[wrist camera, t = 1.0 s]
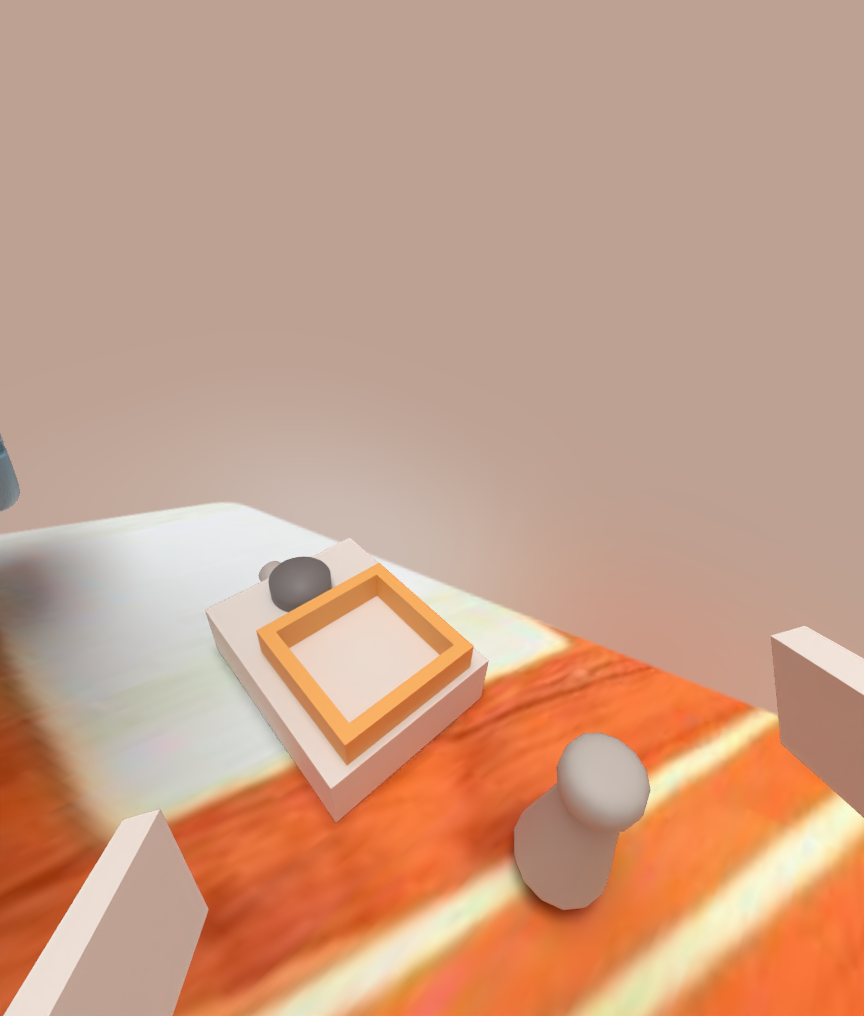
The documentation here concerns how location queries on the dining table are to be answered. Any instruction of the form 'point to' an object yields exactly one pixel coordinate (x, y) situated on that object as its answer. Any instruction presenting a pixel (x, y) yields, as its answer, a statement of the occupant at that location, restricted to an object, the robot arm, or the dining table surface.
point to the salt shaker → (580, 821)
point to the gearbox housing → (346, 668)
